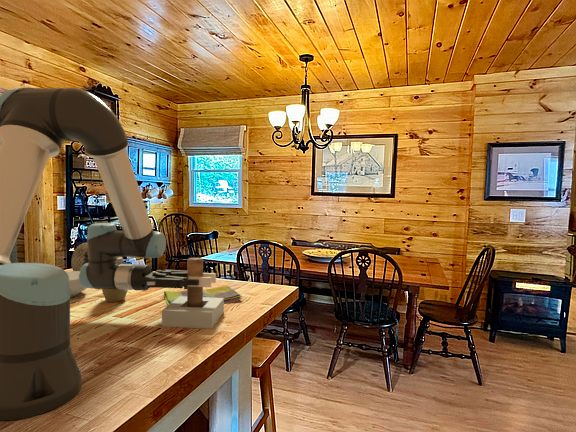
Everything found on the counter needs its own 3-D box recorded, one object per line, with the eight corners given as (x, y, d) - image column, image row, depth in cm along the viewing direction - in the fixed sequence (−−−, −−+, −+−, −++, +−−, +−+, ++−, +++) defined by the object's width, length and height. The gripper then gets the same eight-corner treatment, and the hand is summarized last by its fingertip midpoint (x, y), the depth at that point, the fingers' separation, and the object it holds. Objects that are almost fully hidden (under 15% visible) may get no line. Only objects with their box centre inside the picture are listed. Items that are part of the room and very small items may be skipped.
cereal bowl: (101, 290, 137) (101, 271, 136) (70, 303, 120) (70, 282, 120) (58, 288, 138) (58, 269, 138) (22, 300, 122) (22, 279, 121)
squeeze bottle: (118, 304, 120) (118, 249, 119) (96, 302, 122) (96, 248, 121) (133, 297, 128) (133, 246, 127) (112, 295, 130) (112, 245, 129)
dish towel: (163, 296, 132) (163, 289, 132) (229, 290, 143) (229, 283, 142) (169, 311, 117) (169, 302, 116) (243, 303, 127) (243, 295, 127)
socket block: (211, 328, 101) (212, 312, 101) (161, 326, 102) (161, 310, 102) (223, 312, 115) (223, 298, 115) (179, 310, 116) (179, 296, 116)
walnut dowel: (200, 312, 106) (200, 260, 105) (185, 311, 106) (185, 260, 105) (204, 307, 111) (204, 258, 110) (190, 307, 111) (190, 257, 110)
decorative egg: (71, 282, 147) (70, 245, 146) (71, 276, 157) (71, 241, 156) (103, 279, 152) (103, 243, 151) (102, 274, 163) (102, 240, 162)
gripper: (148, 282, 118) (220, 285, 117) (120, 298, 101) (204, 301, 99) (147, 259, 117) (220, 261, 116) (120, 270, 100) (205, 274, 99)
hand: (213, 280), depth 108 cm, fingers closed on walnut dowel, 4 cm apart
